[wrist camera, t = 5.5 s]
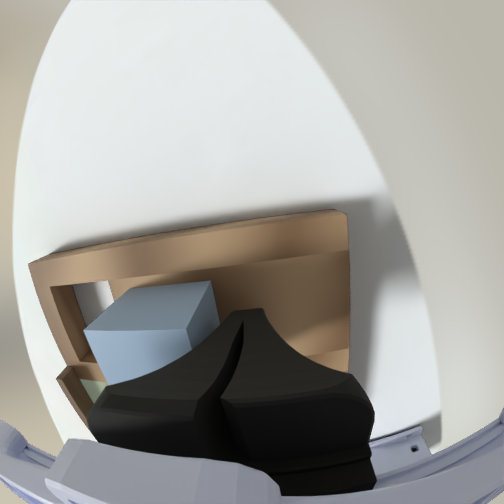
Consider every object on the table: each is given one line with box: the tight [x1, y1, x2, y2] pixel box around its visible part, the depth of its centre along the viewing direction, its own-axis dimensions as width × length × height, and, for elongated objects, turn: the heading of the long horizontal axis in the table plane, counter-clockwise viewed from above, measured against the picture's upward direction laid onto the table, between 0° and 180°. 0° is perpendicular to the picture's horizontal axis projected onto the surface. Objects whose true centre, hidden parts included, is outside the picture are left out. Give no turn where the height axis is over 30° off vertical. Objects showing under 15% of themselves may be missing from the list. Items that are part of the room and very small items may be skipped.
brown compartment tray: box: [28, 209, 350, 432], centre depth 13 cm, size 17×14×4 cm
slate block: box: [83, 280, 220, 385], centre depth 10 cm, size 4×4×4 cm
